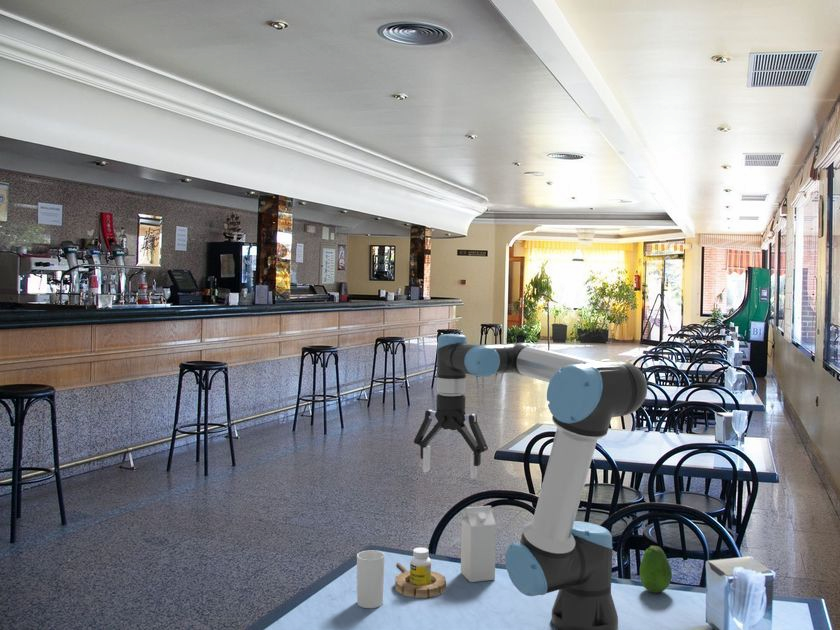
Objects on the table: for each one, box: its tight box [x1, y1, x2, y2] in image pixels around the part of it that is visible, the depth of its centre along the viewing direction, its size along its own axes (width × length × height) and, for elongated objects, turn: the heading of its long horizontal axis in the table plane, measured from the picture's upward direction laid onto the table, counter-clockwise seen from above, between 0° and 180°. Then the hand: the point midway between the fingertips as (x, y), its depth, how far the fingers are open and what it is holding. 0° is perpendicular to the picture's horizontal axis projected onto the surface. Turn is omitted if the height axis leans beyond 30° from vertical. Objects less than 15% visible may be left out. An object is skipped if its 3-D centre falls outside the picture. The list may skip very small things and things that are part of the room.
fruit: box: [639, 545, 673, 594], centre depth 197 cm, size 8×8×12 cm
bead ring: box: [394, 570, 447, 599], centre depth 198 cm, size 13×13×2 cm
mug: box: [356, 549, 385, 609], centre depth 189 cm, size 10×7×12 cm, turn 168°
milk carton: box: [460, 505, 497, 583], centre depth 206 cm, size 7×7×19 cm
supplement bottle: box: [409, 547, 432, 586], centre depth 198 cm, size 5×5×10 cm
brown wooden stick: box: [396, 562, 408, 573], centre depth 209 cm, size 10×1×1 cm, turn 22°
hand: (449, 474), depth 200 cm, fingers open, 13 cm apart
